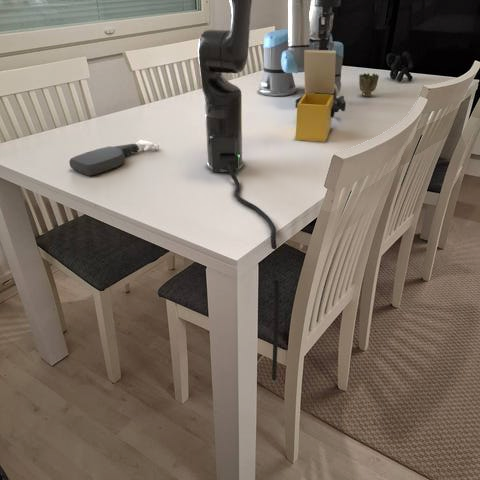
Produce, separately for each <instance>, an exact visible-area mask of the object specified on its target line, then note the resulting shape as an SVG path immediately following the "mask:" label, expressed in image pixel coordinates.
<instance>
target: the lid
mask: <svg viewBox="0 0 480 480" xmlns="http://www.w3.org/2000/svg"><path fill="white" fill-rule="evenodd" d="M316 47H319V42H313V49H312V50H305V51H304V72H303V73H304V93H311V94H314V93H329V94H334V85H335V63H336V51H332V50H333V48H334V42H327V47H330V51H329V50H315V48H316Z"/></svg>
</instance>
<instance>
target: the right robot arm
mask: <svg viewBox="0 0 480 480" xmlns="http://www.w3.org/2000/svg"><path fill="white" fill-rule="evenodd" d="M321 11H322V8H321V7H316V6H315V5H314V0H287V29H277V30H273V31H269V32H267V33H266V34H265V35H264V38H263V46H262V47H263V73H262V77H261V79H260V83H259V86H258V93H259V94H260V95H263V96H266V97H267V96H268V97H288V96H291V95H294V94H296V90H297V87H296V83H295V79H294V76H293V75H294V74H298V73H305V72H304V51H305V50H312V49H313V42H319V41H320V40H319V38H318V27H319V14H320V13H321ZM329 42H334V48H333V50H332V51H336V63H335V85H334V94H329V93H313V94H329V95H334V97H333V106H332V108H331V117H332V118H334V116H335V114H336V113H339V112H340V111H341V112H346V107H347V106H346V105H347V102H346V100H345V95H340V96H339V93H340V91H341V89H342V88H341V87H342V81H341V80H342V69H343V60H344V44H343V43H342V42H340V41H336V40H335V41H333V36H332V35H331V36H330V38H329ZM315 50H319V47H316V48H315ZM328 50H329V51H330V47H329V49H328ZM302 97H303V95H302V96H300V97H298V98H297V99H295V104H294V105H295V106H294V107H295V109H297V104H298V103H299V101H300V100H301V98H302Z"/></svg>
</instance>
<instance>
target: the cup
mask: <svg viewBox="0 0 480 480" xmlns="http://www.w3.org/2000/svg"><path fill="white" fill-rule="evenodd" d="M379 77H380V75H379V74H378V73H373V74H371V75H370V73H369V72H368V73H365V72H364V73H363V74H362V73H361V74H359V77H358V79H359V80H358V84H359V85H358V86H359V90H360V91H361V95H362V97H366V98H367V97H371V96H372V93H373V92H374V91H375V90H376V88H377V86H378V81H379Z"/></svg>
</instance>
